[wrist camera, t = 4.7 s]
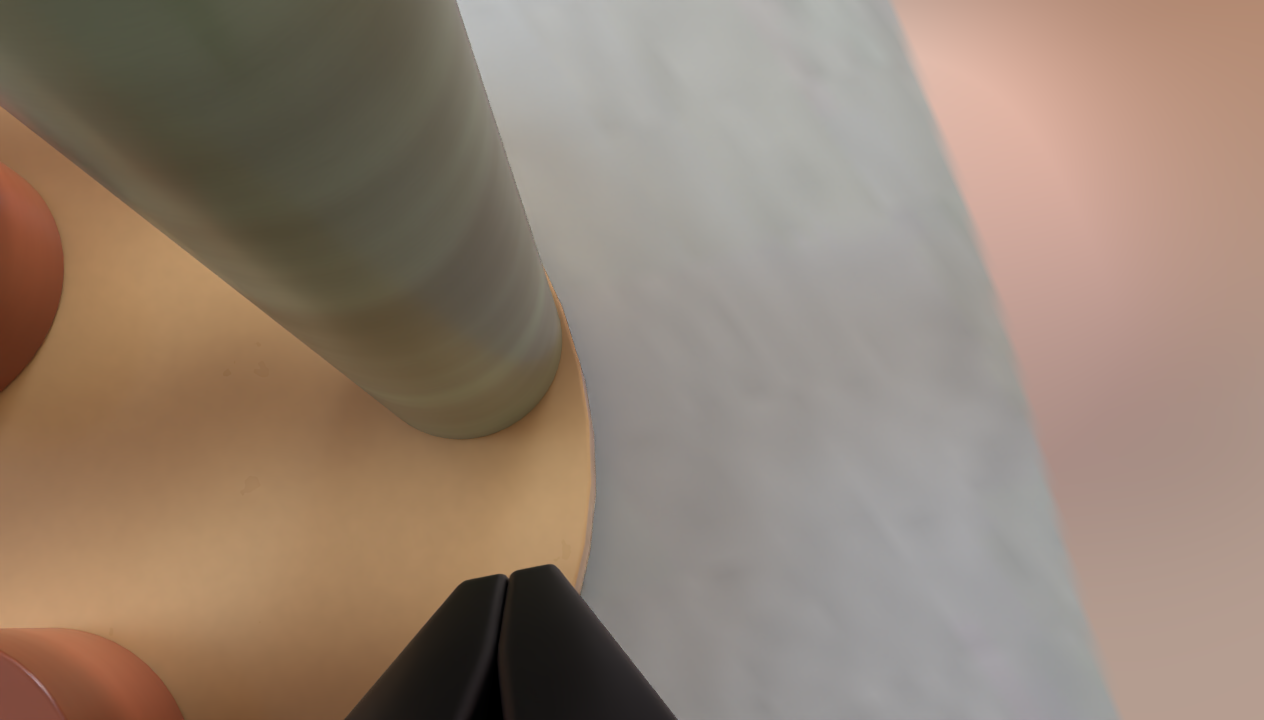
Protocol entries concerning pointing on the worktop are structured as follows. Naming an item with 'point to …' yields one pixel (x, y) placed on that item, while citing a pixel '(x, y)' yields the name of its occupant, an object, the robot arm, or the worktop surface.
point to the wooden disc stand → (262, 355)
